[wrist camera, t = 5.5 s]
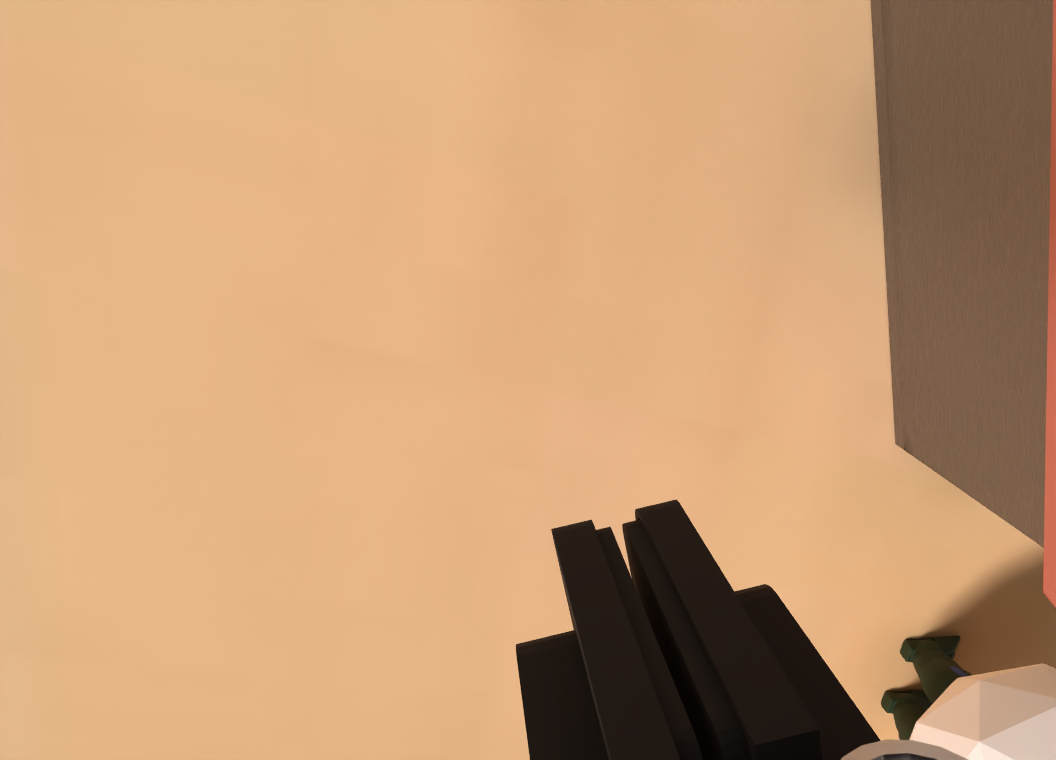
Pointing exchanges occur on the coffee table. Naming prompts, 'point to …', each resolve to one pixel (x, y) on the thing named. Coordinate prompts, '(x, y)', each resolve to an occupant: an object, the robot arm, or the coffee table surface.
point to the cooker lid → (1051, 365)
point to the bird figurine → (976, 706)
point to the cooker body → (968, 239)
